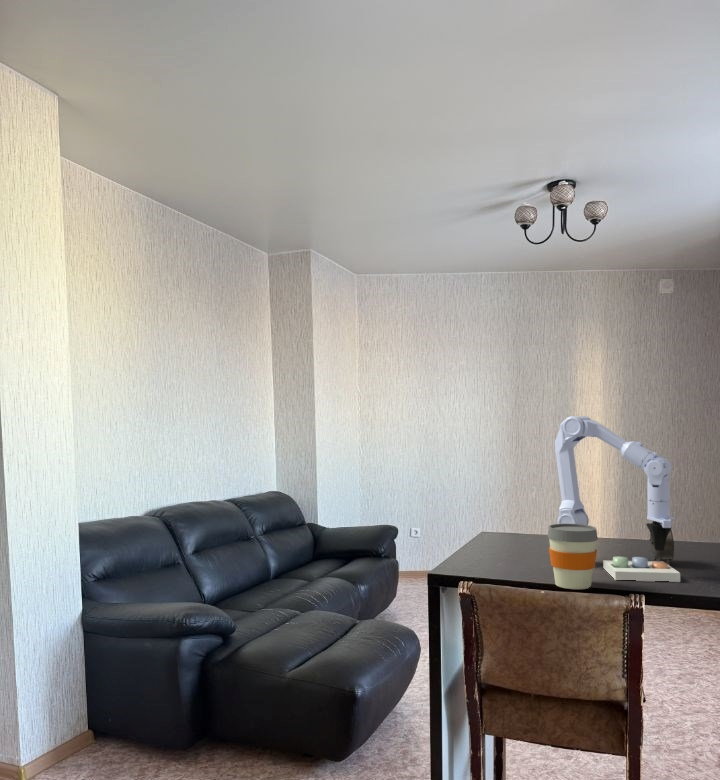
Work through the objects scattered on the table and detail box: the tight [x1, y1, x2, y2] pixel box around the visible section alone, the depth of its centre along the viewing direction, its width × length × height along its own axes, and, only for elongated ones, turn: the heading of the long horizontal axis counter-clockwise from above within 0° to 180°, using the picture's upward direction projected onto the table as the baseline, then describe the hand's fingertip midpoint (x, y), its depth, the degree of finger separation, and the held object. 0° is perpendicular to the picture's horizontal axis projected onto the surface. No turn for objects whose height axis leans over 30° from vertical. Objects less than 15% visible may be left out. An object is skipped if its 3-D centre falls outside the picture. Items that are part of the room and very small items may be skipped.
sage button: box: [612, 555, 629, 568], centre depth 190 cm, size 4×4×3 cm
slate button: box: [631, 556, 649, 568], centre depth 189 cm, size 4×4×3 cm
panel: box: [602, 559, 681, 583], centre depth 189 cm, size 17×14×2 cm
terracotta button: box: [652, 561, 668, 569], centre depth 189 cm, size 4×4×3 cm
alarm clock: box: [648, 529, 675, 567], centre depth 204 cm, size 11×5×16 cm, turn 168°
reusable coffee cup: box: [547, 523, 598, 590], centre depth 179 cm, size 13×12×15 cm
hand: (659, 549), depth 189 cm, fingers closed
